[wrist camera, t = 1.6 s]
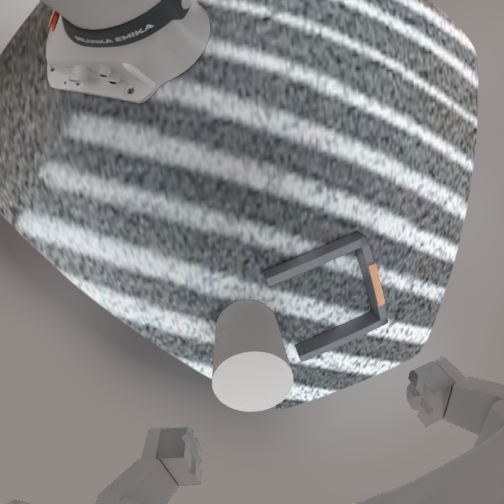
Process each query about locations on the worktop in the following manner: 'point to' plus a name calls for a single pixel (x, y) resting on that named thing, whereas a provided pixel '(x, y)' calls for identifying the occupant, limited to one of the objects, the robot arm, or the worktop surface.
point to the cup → (250, 358)
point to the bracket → (372, 284)
